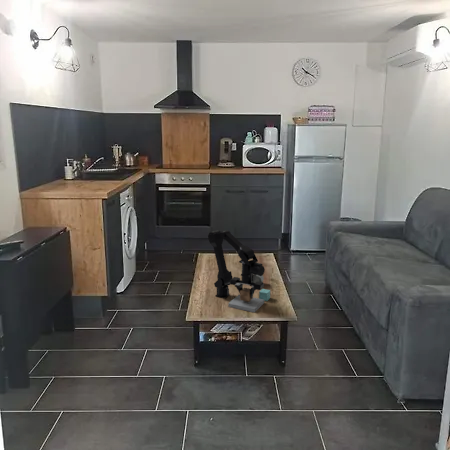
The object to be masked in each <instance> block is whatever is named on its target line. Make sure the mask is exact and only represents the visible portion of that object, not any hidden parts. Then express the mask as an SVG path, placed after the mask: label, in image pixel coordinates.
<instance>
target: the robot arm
mask: <svg viewBox="0 0 450 450" xmlns="http://www.w3.org/2000/svg"><path fill="white" fill-rule="evenodd" d="M207 238H208V242H209V244H210V245H211V246H212V248H213V250H214V251H213V252H214V256H215V261H216V265H217V271H218V272H217V280H216V281H215V282H214V283H213V284H214V287H215V288H216V294H215V297H218V298H220V299H221V298H222V299H227V297H229V296H230V288H229V286H234V287H235V288H236V289H237V291H238V293H239V294H240V291H241V290H242V289H243V288H244V286H245V285H246V286H251V288H249V289H250V298H252V296H253V297H254V293H255V291H256V290H257V291H261V290H262V289H264V287H265V283H264V281H263V282H259V281H257V282H256V283H253V282H252V281H254V280H256V275H258V276H262V275H263V276H264V273H265V272H266V271H265V270H266V269H265V266H264V265H263V263H262V262H258V261H259V259H257V258H258V257H257V256H256V254H255V252H254V250H253V249H252V248H250V247H249V246H246V245H244V244H243V243H242V242H241V241H239V240H238V239H237V238H236V236H234V235H233V234H232V233H231V231H230V230H223V231H221V230H213V231H211V232H209V233H208V235H207ZM224 240H225V242H227V243H228V244H229V246H231V248H233V249H234V250H235V251H236V253H237V256H238V257H239V258H240V260H238V263H240V264H241V273H240V276H241V278H240V277H238V276H233V275H232V274H233V273H232V271H229V269H228V267H227V264H226V258H225V254H224V248H223V246H222V245H223V241H224Z"/></svg>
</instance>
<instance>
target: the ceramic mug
mask: <svg viewBox="0 0 450 450" xmlns="http://www.w3.org/2000/svg"><path fill="white" fill-rule="evenodd" d="M257 281H259V282H263V283H264V274H263V275H262V276H258V275H256V280H254V281H252V282H253V283H256V282H257Z"/></svg>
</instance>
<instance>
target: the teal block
mask: <svg viewBox="0 0 450 450" xmlns="http://www.w3.org/2000/svg"><path fill="white" fill-rule="evenodd" d="M258 298H259V299H263V300H264V302H268V301H269V300H270V299H271V290H270V289H265V288H262V289H261V290H259V292H258Z"/></svg>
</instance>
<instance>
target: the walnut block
mask: <svg viewBox="0 0 450 450" xmlns="http://www.w3.org/2000/svg"><path fill="white" fill-rule="evenodd" d="M250 289H251V288H249V287H243V289H242V290H241V291H240V293H239V295H240V300H243V301H247V302H249V301H250V300H252V299H253V297H254V295H253V296H252V298H250Z"/></svg>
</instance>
